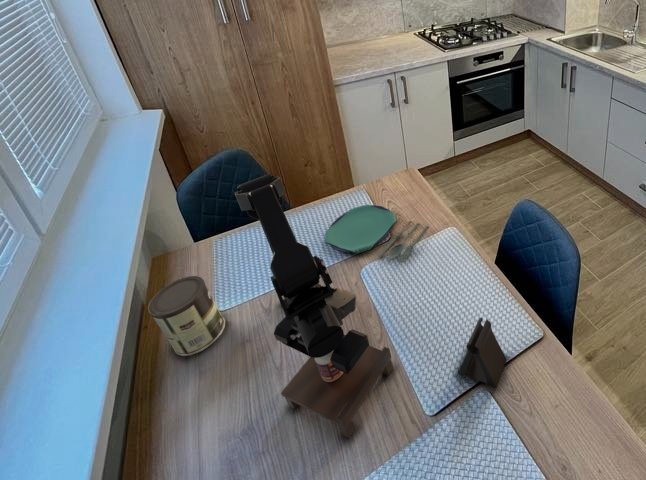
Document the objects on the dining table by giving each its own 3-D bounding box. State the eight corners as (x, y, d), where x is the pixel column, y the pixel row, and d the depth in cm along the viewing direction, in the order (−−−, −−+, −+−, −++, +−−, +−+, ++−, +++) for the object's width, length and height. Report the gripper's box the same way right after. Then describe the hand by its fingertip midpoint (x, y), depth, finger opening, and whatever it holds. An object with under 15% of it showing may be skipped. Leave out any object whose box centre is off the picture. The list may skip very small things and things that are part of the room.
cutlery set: (359, 203, 138) (358, 198, 137) (434, 226, 127) (433, 220, 126) (313, 245, 121) (311, 239, 120) (395, 275, 110) (393, 269, 109)
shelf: (287, 407, 82) (277, 387, 79) (337, 343, 94) (330, 323, 91) (349, 440, 77) (341, 420, 73) (394, 368, 88) (389, 348, 85)
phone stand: (506, 360, 89) (504, 324, 84) (496, 388, 84) (493, 352, 79) (470, 347, 92) (465, 312, 87) (457, 373, 87) (452, 337, 82)
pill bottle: (337, 384, 81) (327, 359, 77) (316, 380, 82) (306, 354, 78) (350, 360, 85) (342, 335, 81) (330, 356, 86) (321, 331, 82)
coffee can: (209, 309, 103) (187, 269, 97) (234, 324, 99) (214, 284, 93) (163, 345, 95) (137, 305, 88) (190, 364, 91) (164, 323, 84)
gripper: (380, 291, 79) (393, 342, 86) (308, 265, 85) (325, 314, 92) (338, 344, 69) (357, 396, 76) (261, 310, 76) (284, 361, 83)
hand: (331, 363), depth 82 cm, fingers open, 9 cm apart
